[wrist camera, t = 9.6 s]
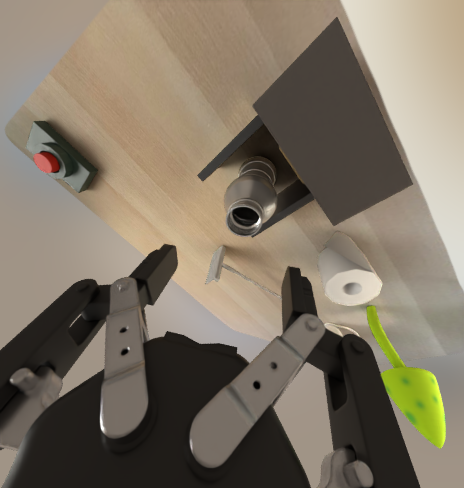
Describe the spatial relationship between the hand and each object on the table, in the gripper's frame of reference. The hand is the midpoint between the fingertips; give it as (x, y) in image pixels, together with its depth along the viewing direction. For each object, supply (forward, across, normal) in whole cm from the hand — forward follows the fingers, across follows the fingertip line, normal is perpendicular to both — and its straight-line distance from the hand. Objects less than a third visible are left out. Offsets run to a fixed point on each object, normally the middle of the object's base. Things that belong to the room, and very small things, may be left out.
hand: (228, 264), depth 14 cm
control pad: (+27, +41, +2) cm, 49 cm away
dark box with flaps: (+27, -3, -3) cm, 27 cm away
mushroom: (+27, -33, +29) cm, 52 cm away
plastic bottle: (+27, 0, 0) cm, 27 cm away
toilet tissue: (+27, -20, +15) cm, 37 cm away
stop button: (+23, +41, +2) cm, 47 cm away
